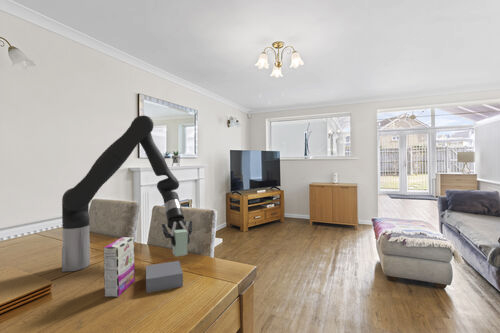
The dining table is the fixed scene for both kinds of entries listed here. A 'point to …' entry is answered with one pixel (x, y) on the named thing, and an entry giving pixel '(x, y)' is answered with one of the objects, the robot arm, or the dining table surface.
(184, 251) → the sage block
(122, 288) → the candy bar box
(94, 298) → the dining table surface
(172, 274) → the base block
